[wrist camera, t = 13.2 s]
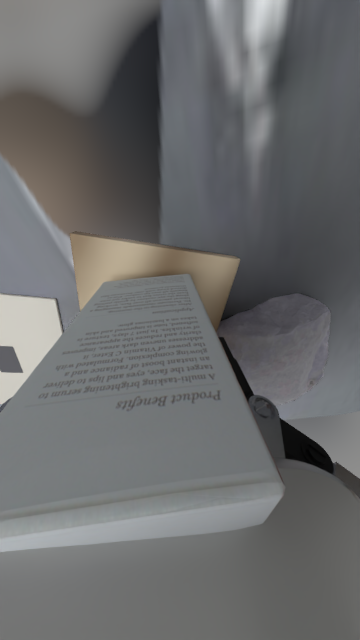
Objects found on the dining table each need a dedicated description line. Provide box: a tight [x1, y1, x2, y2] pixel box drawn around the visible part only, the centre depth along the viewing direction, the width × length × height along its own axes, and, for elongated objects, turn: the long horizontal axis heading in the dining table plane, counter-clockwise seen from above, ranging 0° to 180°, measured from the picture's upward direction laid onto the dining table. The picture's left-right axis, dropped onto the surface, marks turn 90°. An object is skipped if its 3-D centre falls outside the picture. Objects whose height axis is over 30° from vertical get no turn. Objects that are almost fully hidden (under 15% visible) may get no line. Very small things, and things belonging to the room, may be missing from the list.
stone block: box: [217, 293, 331, 406], centre depth 18 cm, size 12×5×10 cm
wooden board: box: [70, 231, 240, 333], centre depth 15 cm, size 11×11×1 cm
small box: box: [0, 274, 285, 552], centre depth 9 cm, size 8×6×10 cm
